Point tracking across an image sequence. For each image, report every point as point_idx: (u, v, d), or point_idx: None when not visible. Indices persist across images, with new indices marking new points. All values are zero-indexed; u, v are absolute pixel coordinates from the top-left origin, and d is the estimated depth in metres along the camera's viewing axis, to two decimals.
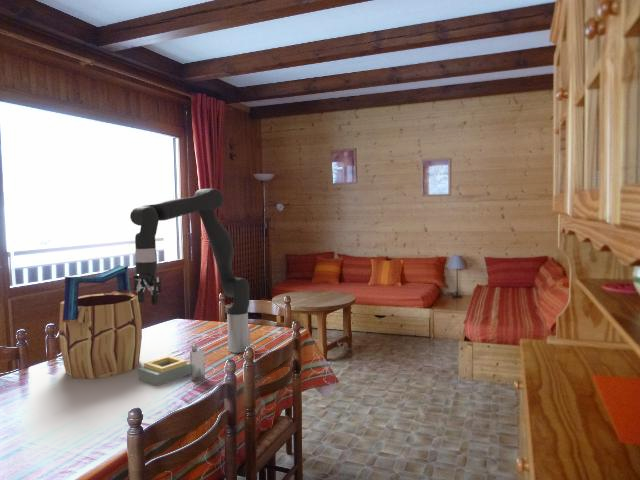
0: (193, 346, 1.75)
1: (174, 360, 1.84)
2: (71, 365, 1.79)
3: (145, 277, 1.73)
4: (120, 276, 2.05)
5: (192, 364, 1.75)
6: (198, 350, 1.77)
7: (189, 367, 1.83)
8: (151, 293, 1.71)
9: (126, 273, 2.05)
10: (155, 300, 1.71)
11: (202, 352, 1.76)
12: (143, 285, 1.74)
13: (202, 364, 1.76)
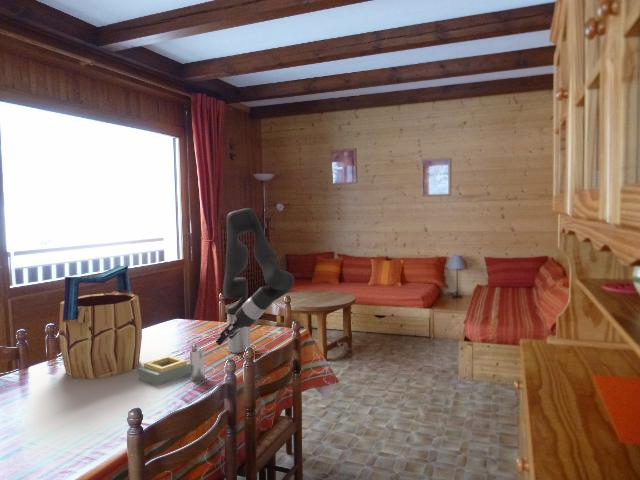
0: (193, 346, 1.75)
1: (174, 360, 1.84)
2: (71, 365, 1.79)
3: None
4: (120, 276, 2.05)
5: (192, 364, 1.75)
6: (198, 350, 1.77)
7: (189, 367, 1.83)
8: (239, 331, 1.76)
9: (126, 273, 2.05)
10: None
11: (202, 352, 1.76)
12: None
13: (202, 364, 1.76)
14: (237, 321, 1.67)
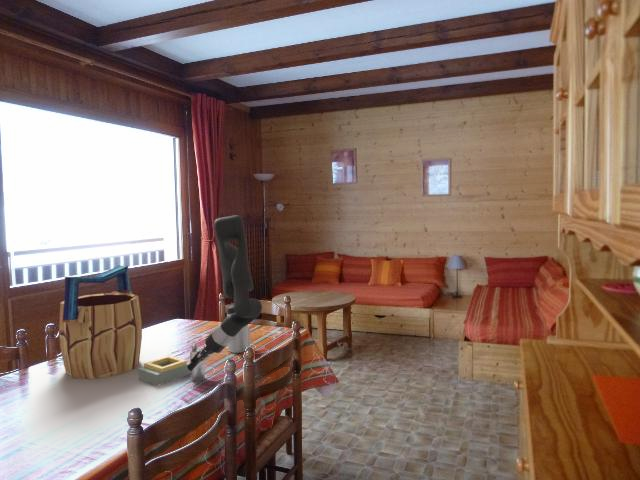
0: (193, 346, 1.75)
1: (174, 360, 1.84)
2: (71, 365, 1.79)
3: None
4: (120, 276, 2.05)
5: None
6: (198, 350, 1.77)
7: None
8: (207, 358, 1.79)
9: (126, 273, 2.05)
10: None
11: None
12: None
13: (202, 364, 1.76)
14: (207, 347, 1.71)
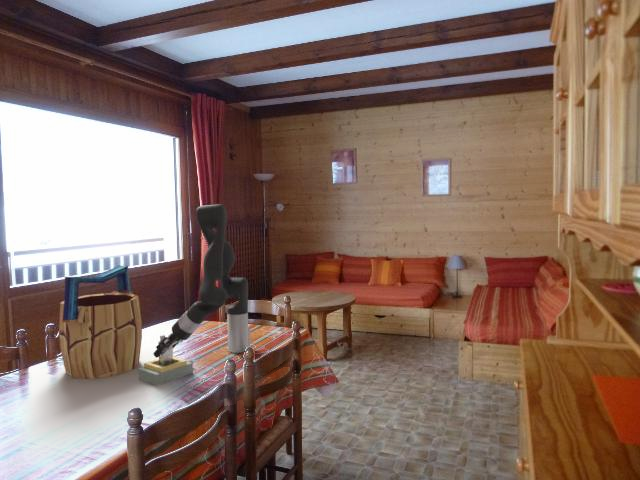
0: (161, 337, 1.79)
1: (174, 360, 1.84)
2: (71, 365, 1.79)
3: None
4: (120, 276, 2.05)
5: None
6: None
7: (189, 367, 1.83)
8: None
9: (126, 273, 2.05)
10: None
11: None
12: None
13: (170, 355, 1.79)
14: (173, 334, 1.75)
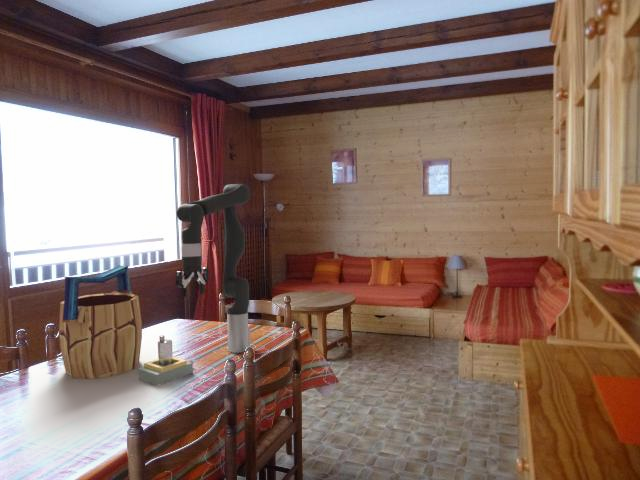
0: (161, 337, 1.78)
1: (174, 360, 1.84)
2: (71, 365, 1.79)
3: (195, 270, 1.85)
4: (120, 276, 2.05)
5: (160, 355, 1.78)
6: (166, 341, 1.80)
7: (189, 367, 1.83)
8: (204, 283, 1.88)
9: (126, 273, 2.05)
10: None
11: (170, 343, 1.79)
12: (192, 278, 1.84)
13: (170, 355, 1.79)
14: (183, 267, 1.82)
